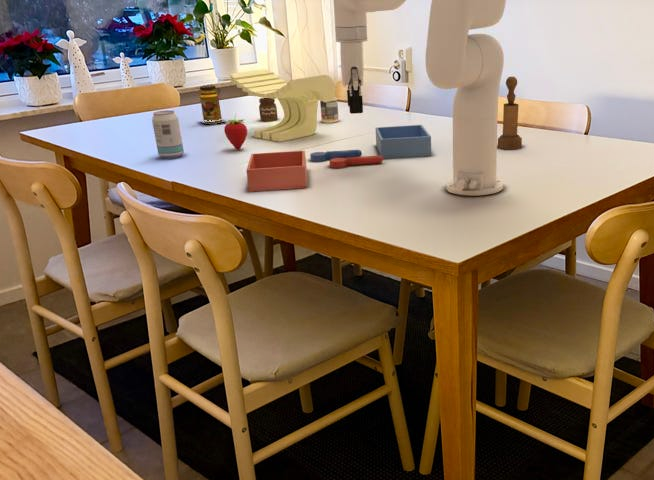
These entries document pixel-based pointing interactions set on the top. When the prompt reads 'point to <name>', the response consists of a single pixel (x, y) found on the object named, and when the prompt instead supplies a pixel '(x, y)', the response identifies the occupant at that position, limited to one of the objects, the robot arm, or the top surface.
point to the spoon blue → (334, 155)
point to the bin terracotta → (277, 171)
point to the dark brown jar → (267, 109)
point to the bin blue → (403, 141)
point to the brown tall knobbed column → (510, 119)
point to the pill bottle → (329, 111)
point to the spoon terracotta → (354, 161)
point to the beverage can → (167, 134)
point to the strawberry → (236, 132)
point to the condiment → (210, 104)
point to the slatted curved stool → (288, 101)
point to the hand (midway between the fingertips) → (355, 109)
